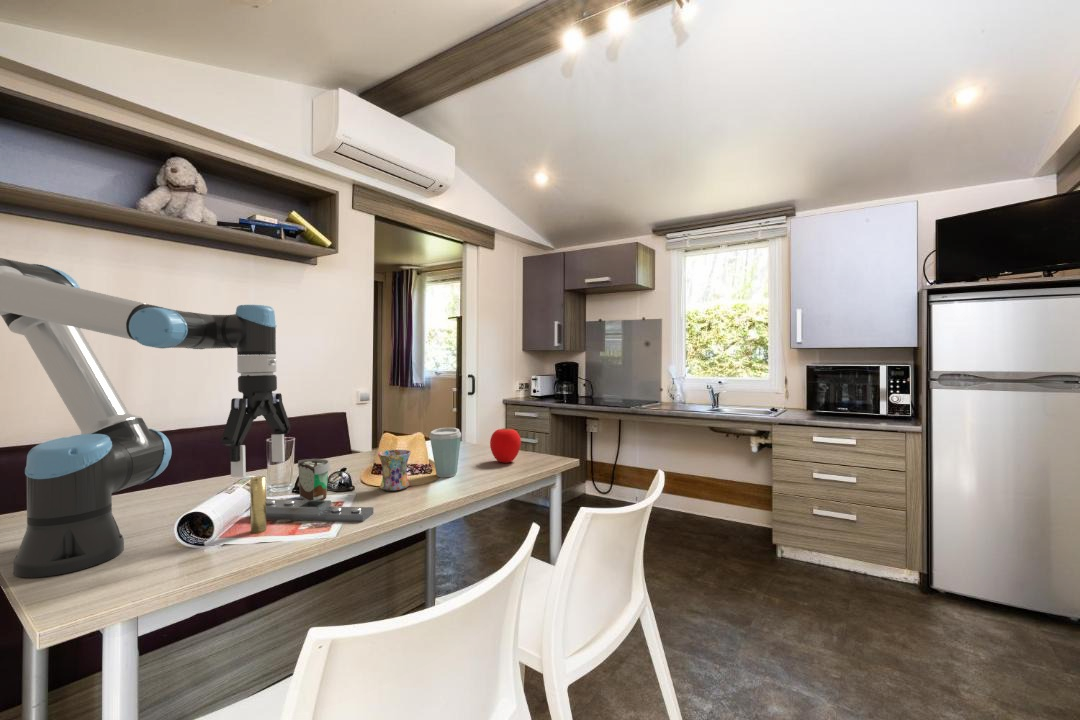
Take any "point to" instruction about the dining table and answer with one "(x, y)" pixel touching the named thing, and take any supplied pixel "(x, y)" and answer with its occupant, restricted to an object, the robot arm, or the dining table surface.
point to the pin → (258, 504)
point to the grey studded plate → (313, 511)
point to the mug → (394, 469)
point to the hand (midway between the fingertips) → (259, 468)
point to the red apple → (505, 444)
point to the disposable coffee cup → (445, 450)
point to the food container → (313, 478)
